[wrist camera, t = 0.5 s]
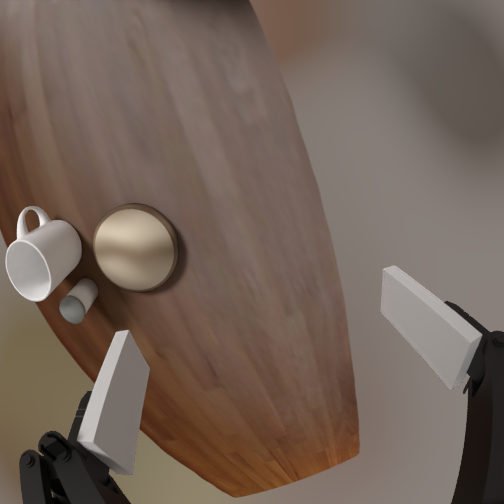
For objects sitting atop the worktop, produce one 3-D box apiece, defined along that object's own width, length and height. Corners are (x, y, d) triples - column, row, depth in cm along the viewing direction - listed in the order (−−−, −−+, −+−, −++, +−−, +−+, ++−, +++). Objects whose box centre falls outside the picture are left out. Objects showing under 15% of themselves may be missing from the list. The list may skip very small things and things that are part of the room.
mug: (66, 189, 33) (26, 204, 23) (91, 262, 37) (61, 295, 27) (29, 208, 32) (-11, 226, 22) (54, 274, 37) (22, 306, 27)
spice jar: (73, 279, 37) (55, 300, 31) (93, 275, 38) (75, 296, 31) (83, 301, 39) (67, 324, 33) (102, 298, 39) (87, 321, 33)
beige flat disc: (86, 215, 34) (81, 218, 33) (166, 193, 35) (164, 195, 34) (113, 292, 39) (109, 299, 37) (188, 278, 40) (187, 284, 38)
